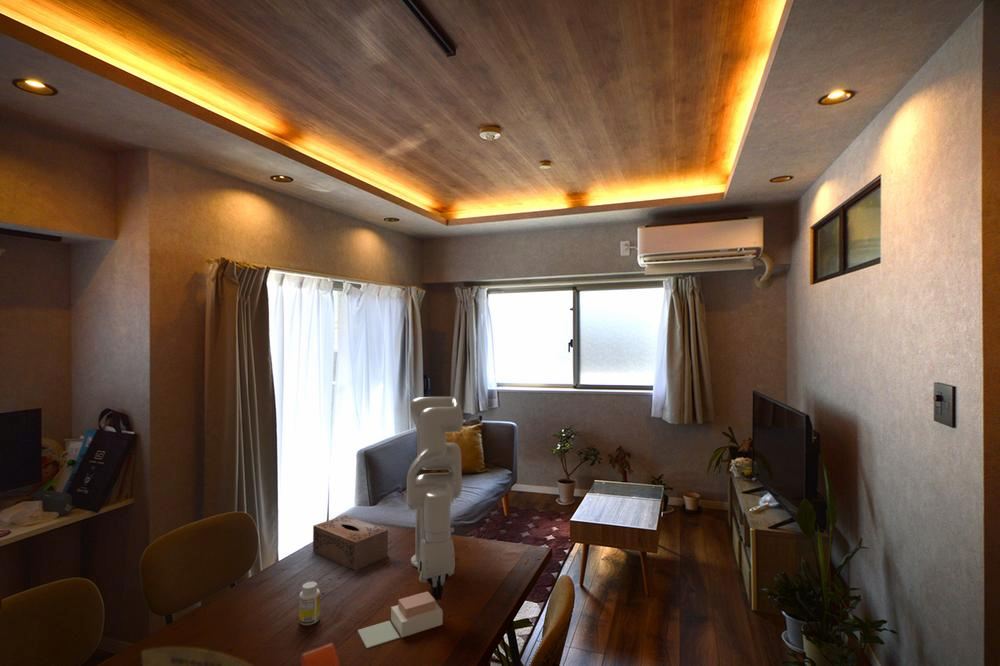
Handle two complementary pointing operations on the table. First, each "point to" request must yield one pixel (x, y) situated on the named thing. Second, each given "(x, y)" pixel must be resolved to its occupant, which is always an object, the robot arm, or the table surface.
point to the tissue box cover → (350, 541)
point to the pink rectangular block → (416, 604)
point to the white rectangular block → (415, 621)
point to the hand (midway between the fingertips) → (436, 598)
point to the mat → (378, 634)
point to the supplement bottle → (309, 604)
